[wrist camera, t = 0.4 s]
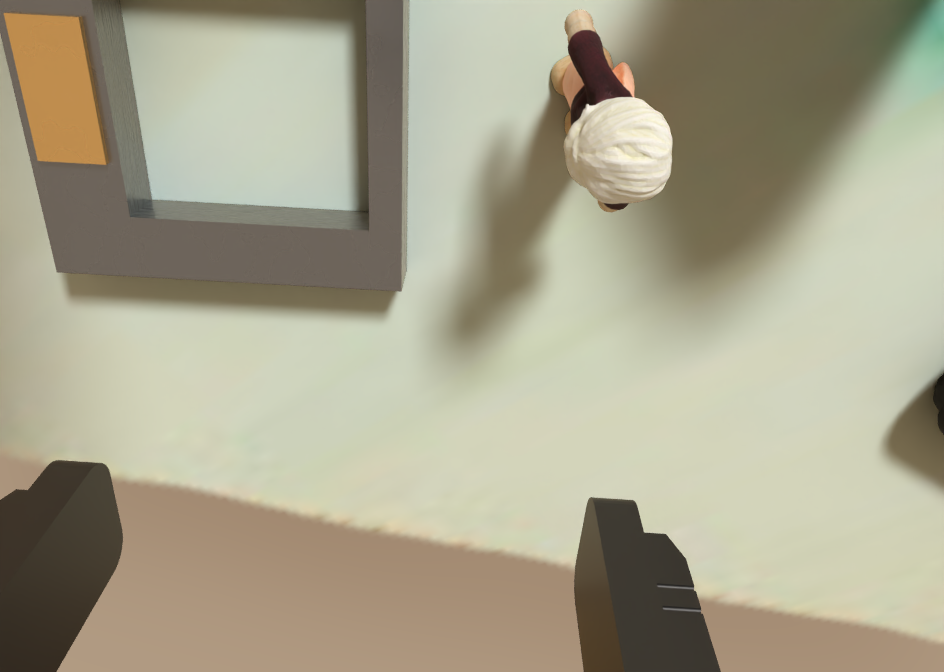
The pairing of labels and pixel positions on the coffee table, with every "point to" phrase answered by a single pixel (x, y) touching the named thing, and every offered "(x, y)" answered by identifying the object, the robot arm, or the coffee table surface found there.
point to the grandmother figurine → (609, 123)
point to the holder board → (191, 223)
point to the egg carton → (940, 401)
